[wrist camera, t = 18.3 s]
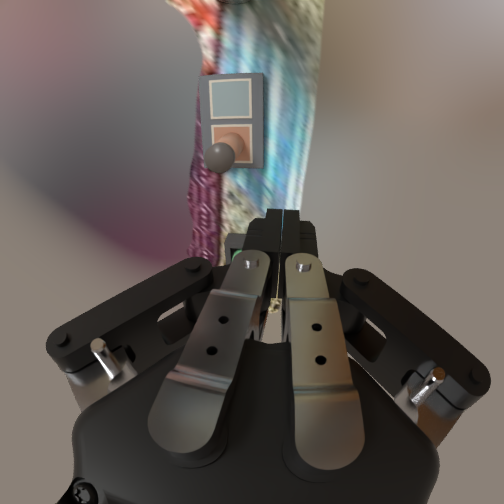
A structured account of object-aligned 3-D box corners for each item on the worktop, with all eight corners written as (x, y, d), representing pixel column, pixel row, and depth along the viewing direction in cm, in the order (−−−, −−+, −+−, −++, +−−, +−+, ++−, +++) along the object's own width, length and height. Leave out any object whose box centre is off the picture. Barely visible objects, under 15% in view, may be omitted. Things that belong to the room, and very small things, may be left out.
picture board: (200, 76, 36) (198, 76, 36) (263, 73, 35) (262, 72, 34) (206, 166, 46) (204, 167, 45) (263, 166, 44) (262, 168, 44)
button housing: (228, 233, 53) (224, 243, 50) (263, 235, 52) (261, 245, 49) (230, 261, 57) (226, 272, 54) (263, 263, 56) (261, 274, 53)
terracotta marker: (215, 141, 42) (198, 155, 34) (234, 127, 40) (221, 138, 33) (229, 160, 43) (215, 178, 36) (249, 147, 42) (239, 163, 34)
